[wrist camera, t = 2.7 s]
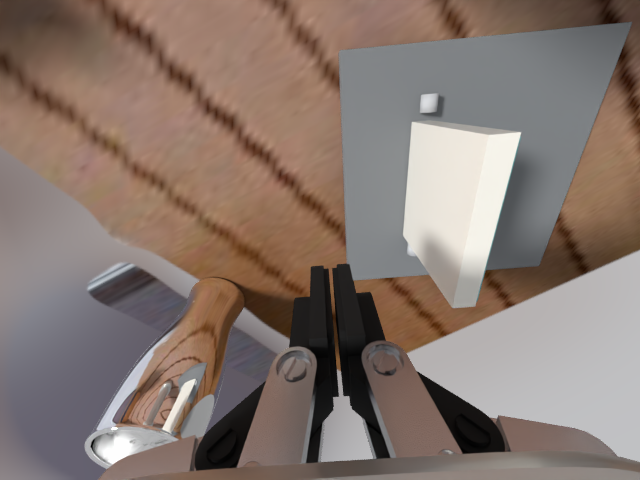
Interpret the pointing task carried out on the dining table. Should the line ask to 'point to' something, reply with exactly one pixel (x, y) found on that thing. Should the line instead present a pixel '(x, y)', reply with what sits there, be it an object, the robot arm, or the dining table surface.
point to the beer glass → (172, 378)
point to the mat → (476, 110)
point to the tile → (456, 201)
